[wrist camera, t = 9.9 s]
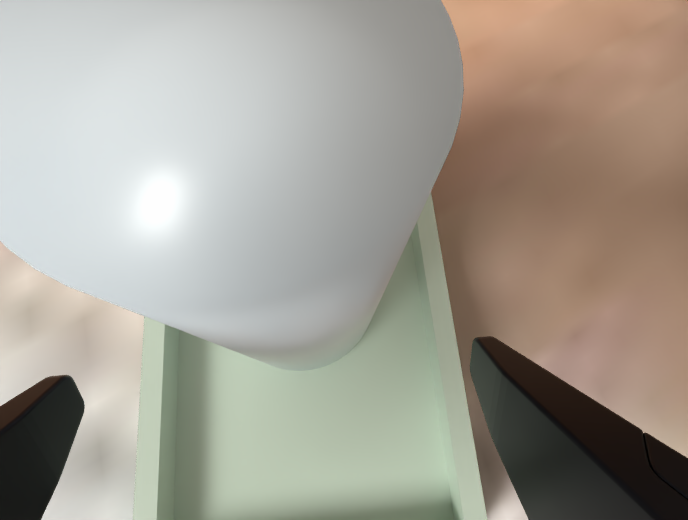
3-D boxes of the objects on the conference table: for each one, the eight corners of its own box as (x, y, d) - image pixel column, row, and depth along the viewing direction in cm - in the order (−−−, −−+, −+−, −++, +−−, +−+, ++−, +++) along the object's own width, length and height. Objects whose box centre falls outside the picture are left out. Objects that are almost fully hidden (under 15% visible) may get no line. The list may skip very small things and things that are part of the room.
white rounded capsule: (405, 295, 18) (564, 65, 5) (297, 405, 16) (164, 449, 4) (304, 200, 19) (241, -160, 7) (196, 294, 17) (-147, 57, 5)
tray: (471, 534, 16) (494, 560, 13) (161, 568, 15) (128, 601, 13) (402, 107, 22) (410, 72, 19) (178, 122, 21) (157, 89, 19)
